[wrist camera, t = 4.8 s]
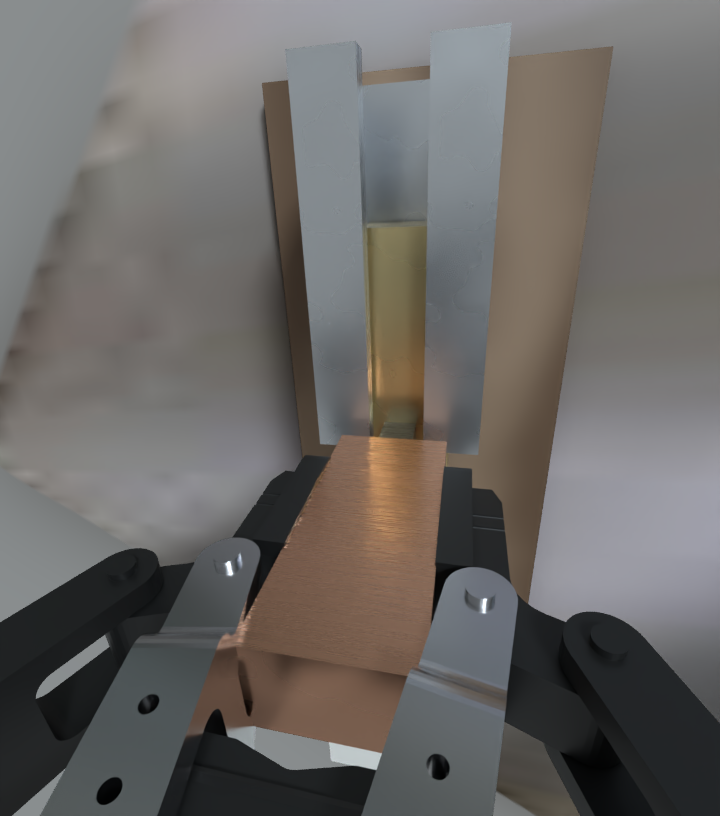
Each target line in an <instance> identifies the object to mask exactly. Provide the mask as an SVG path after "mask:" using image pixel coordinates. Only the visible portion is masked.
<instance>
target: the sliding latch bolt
mask: <svg viewBox="0 0 720 816" xmlns="http://www.w3.org/2000/svg"><path fill="white" fill-rule="evenodd" d="M367 239H368V270H369V301H370V332H371V363H372V394H373V425H374V437H367V436H352V435H342V436H341V438H340V440H339V442H338V443H337V445H336V447H335V449H334V451H333V453H332V455H331V459H330V461H329V463H328V464H327V466H326V468H325V470H324V472H323V474H322V476H321V478H320V480H319V482H318V484H317V486H316V487H315V489H314V491H313V493H312V495H311V497H310V499H309V501H308V503H307V505H306V507H305V509H304V510H303V512H302V514H301V516H300V518H299V520H298V522H297V524H296V526H295V528H294V530H293V532H292V533H291V535H290V537H289V539H288V541H287V543H286V545H285V546H283V548H282V550H281V552H280V554H279V556H278V557H277V559H276V561H275V563H274V565H273V567H272V569H271V571H270V573H269V575H268V576H267V578H266V580H265V582H264V584H263V586H262V588H261V590H260V592H259V594H258V596H257V597H256V599H255V601H254V603H253V605H252V607H251V609H250V611H249V613H248V615H247V616H246V618H245V620H244V622H243V625H242V628H241V631H240V634H239V637H238V641H237V644H236V650H237V654H238V659H239V664H238V676H239V681H240V686H241V690H242V695H243V699H244V703H245V708H246V712H247V715H251V719H252V724H253V726H255V727H260V728H265V729H270V730H275V731H279V732H284V733H288V734H293V735H298V736H302V737H307V738H312V739H317V740H322V741H326V742H331V743H335V744H340V745H345V746H350V747H354V748H359V749H364V750H369V751H373V752H378V753H382V752H383V749H384V746H385V743H386V740H387V737H388V734H389V731H390V728H391V725H392V722H393V719H394V715H395V712H396V709H397V706H398V703H399V700H400V697H401V694H402V691H403V688H404V685H405V682H406V679H407V677H408V674H409V672H410V670H411V668H412V667H413V666H418V664H419V662H420V659H421V656H422V653H423V650H424V647H425V643H426V640H427V637H428V634H429V631H430V628H431V624H432V621H433V618H434V606H435V579H436V565H435V558H436V548H437V537H438V526H439V515H440V504H441V493H442V482H443V472H444V466H446V467H448V459H449V453H446V449H447V442H444V441H428V440H423V420H424V367H425V314H426V260H427V221H402V222H373V223H367Z"/></svg>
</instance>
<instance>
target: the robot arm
mask: <svg viewBox="0 0 720 816" xmlns="http://www.w3.org/2000/svg"><path fill="white" fill-rule="evenodd" d="M330 459H331V457H326V456H314V455H305V456H304V457H303V459H302V460H301V462H300V464H299V465H298V467H297V468H296V470H295V472H292V471H285V472H283V473H282V474H280V475H279V476H277V477H276V478H275V479H273V480H272V481H271V482H270V484H269V485H268V486H267V488H266V489H265V491H264V492H263V495H261V497H260V498H259V500H258V501H257V504H256V505H254V507H253V508H252V510H251V511H250V513H249V514H248V516H247V517H246V518H245V520H244V521H243V523H242V524H241V526H240V527H239V529H238V530H237V532H236V533H235V534H234V536H233V537H232V538H228V539H224V540H220V541H218V542H215V543H213V544H212V545H210V546H208V547H207V548H206V549H204V550H203V551H202V552H201V553H200V554H199V556H198V557H197V559H196V561H195V562H194V563H188V564H180V565H171V566H163V567H160V565H159V561H158V558H157V556H156V554H155V553H154V552H152V551H150V550H147V549H142V548H135V549H129V550H124V551H121V552H118V553H116V554H114V555H112V556H110V557H108V558H106V559H104V560H103V561H101V562H100V563H98V564H96V565H94V566H93V567H91V568H89V569H88V570H86V571H84V572H83V573H81V574H79V575H78V576H76V577H74V578H73V579H71V580H70V581H68V582H66V583H65V584H63V585H61V586H60V587H58V588H56V589H55V590H53V591H51V592H50V593H48V594H46V595H45V596H43V597H41V598H40V599H38V600H37V601H35V602H33V603H31V604H30V605H28V606H27V607H25V608H23V609H22V610H20V611H18V612H17V613H15V614H13V615H12V616H10V617H8V618H7V619H5V620H3V621H2V622H0V816H12V815H13V814H14V813H15V812H17V811H18V810H19V809H20V808H21V807H22V806H23V805H24V804H26V803H27V802H28V801H29V800H30V799H31V798H32V797H33V796H35V794H37V793H38V792H39V791H40V790H41V789H42V788H44V787H45V786H46V785H47V784H48V783H49V782H50V781H51V780H53V779H54V778H55V777H56V776H57V775H58V774H59V773H61V772H62V771H63V770H64V769H65V768H66V769H65V771H64V772H63V774H62V776H61V778H60V780H59V782H58V783H57V786H56V787H55V789H54V791H53V793H52V794H51V796H50V798H49V800H48V802H47V804H46V805H45V807H44V809H43V811H42V813H41V815H40V816H493V810H494V802H495V793H496V786H497V778H498V769H499V761H500V753H501V745H502V736H503V728H504V722H506V723H508V724H510V725H512V726H514V727H516V728H517V729H519V730H521V731H523V732H525V733H527V734H529V735H531V736H532V737H534V738H536V739H538V740H540V741H542V742H544V746H545V748H546V751H547V753H548V755H549V757H550V759H551V761H552V762H553V764H554V766H555V768H556V770H557V772H558V774H559V776H560V778H561V780H562V782H563V783H564V785H565V787H566V789H567V791H568V793H569V795H570V797H571V799H572V801H573V803H574V805H575V806H576V808H577V810H578V812H579V814H580V816H720V723H719V722H718V721H717V720H716V719H715V718H714V716H713V715H712V714H711V713H710V712H709V711H708V710H707V709H706V707H705V706H704V705H703V704H702V703H701V702H700V701H699V699H698V698H697V697H696V696H695V695H694V694H693V693H692V692H691V690H690V689H689V688H688V687H687V686H686V685H685V684H684V682H683V681H682V680H681V679H680V678H679V677H678V676H677V674H676V673H675V672H674V671H673V670H672V669H671V668H670V667H669V665H668V664H667V663H666V662H665V661H664V660H663V659H662V657H661V656H660V655H659V654H658V653H657V652H656V651H655V650H654V648H653V647H652V646H651V645H650V644H649V643H648V642H647V640H646V639H645V638H644V637H643V636H642V635H641V634H640V633H639V632H638V631H637V630H635V629H634V628H633V627H632V626H630V625H629V624H627V623H626V622H624V621H622V620H620V619H618V618H616V617H613V616H611V615H608V614H604V613H599V612H582V613H578V614H575V615H574V616H572V617H571V618H569V619H568V620H567V622H564V621H561V620H559V619H556V618H554V617H551V616H549V615H546V614H544V613H542V612H540V611H538V610H536V609H534V608H533V607H531V606H530V605H529V604H527V603H526V602H525V601H524V600H523V599H522V598H521V597H520V596H519V595H518V594H517V593H516V591H515V589H514V588H513V586H512V583H511V580H510V573H509V563H508V554H507V544H506V535H505V526H504V520H503V519H504V516H503V507H502V502H501V501H500V499H499V498H498V497H497V495H496V494H495V493H494V491H493V490H490V489H479V488H472V469H471V468H458V467H446V466H444V472H443V482H442V493H441V504H440V515H439V526H438V537H437V548H436V558H435V565H436V579H435V606H434V618H433V621H432V624H431V628H430V631H429V634H428V637H427V640H426V643H425V647H424V650H423V653H422V656H421V659H420V662H419V664H418V666H413V667H412V668H411V670H410V672H409V674H408V677H407V679H406V682H405V685H404V688H403V691H402V694H401V697H400V700H399V703H398V706H397V709H396V712H395V715H394V719H393V722H392V725H391V728H390V731H389V734H388V737H387V740H386V743H385V746H384V749H383V752H382V755H381V758H380V761H379V764H378V767H377V770H374V769H369V768H365V767H360V766H344V767H332V768H318V769H306V770H289V769H286V768H284V767H282V766H280V765H279V764H277V763H275V762H274V761H272V760H270V759H269V758H267V757H265V756H264V755H262V754H261V753H259V752H257V751H255V733H256V727H255V726H253V724H252V719H251V715H247V712H246V708H245V703H244V699H243V695H242V690H241V686H240V681H239V676H238V664H239V659H238V654H237V650H236V644H237V641H238V637H239V634H240V631H241V628H242V625H243V622H244V620H245V618H246V616H247V615H248V613H249V611H250V609H251V607H252V605H253V603H254V601H255V599H256V597H257V596H258V594H259V592H260V590H261V588H262V586H263V584H264V582H265V580H266V578H267V576H268V575H269V573H270V571H271V569H272V567H273V565H274V563H275V561H276V559H277V557H278V556H279V554H280V552H281V550H282V548H283V546H285V545H286V543H287V541H288V539H289V537H290V535H291V533H292V532H293V530H294V528H295V526H296V524H297V522H298V520H299V518H300V516H301V514H302V512H303V510H304V509H305V507H306V505H307V503H308V501H309V499H310V497H311V495H312V493H313V491H314V489H315V487H316V486H317V484H318V482H319V480H320V478H321V476H322V474H323V472H324V470H325V468H326V466H327V464H328V463H329V461H330ZM104 635H106V638H107V641H108V643H109V646H110V647H109V648H107V649H106V650H105V651H103V652H102V653H101V654H100V655H98V656H97V657H96V658H94V659H93V660H92V661H90V662H89V663H88V664H86V665H85V666H84V667H82V668H81V669H80V670H78V671H77V672H76V673H74V674H73V675H72V676H71V677H69V678H68V679H66V680H65V681H64V682H62V683H61V684H60V685H58V686H57V687H56V688H54V689H53V690H52V691H50V692H49V693H48V694H46V695H44V696H42V697H40V698H37V699H36V693H37V690H38V688H39V686H40V685H41V684H42V682H43V681H44V680H45V679H46V678H47V677H48V676H49V675H50V674H51V673H53V672H54V671H55V670H57V669H58V668H60V667H61V666H62V665H63V664H65V663H66V662H68V661H69V660H70V659H72V658H73V657H75V656H76V655H77V654H79V653H80V652H82V651H83V650H84V649H85V648H87V647H88V646H90V645H91V644H93V643H94V642H95V641H96V640H98V639H99V638H101V637H102V636H104Z"/></svg>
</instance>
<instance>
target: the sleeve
mask: <svg viewBox="0 0 720 816" xmlns="http://www.w3.org/2000/svg"><path fill="white" fill-rule="evenodd" d="M510 35H511V23H502V24H494V25H486V26H477V27H469V28H461V29H452V30H444V31H436V32H431V46H430V79H425V80H415V81H405V82H395V83H385V84H374V85H364V86H363V83H362V52H361V48H360V46H359V45H358V44H357V42H356V41H352V42H343V43H335V44H327V45H318V46H310V47H302V48H293V49H285V51H286V63H287V74H288V85H289V96H290V108H291V119H292V130H293V142H294V153H295V164H296V176H297V187H298V198H299V210H300V221H301V232H302V244H303V255H304V266H305V278H306V289H307V300H308V312H309V323H310V334H311V346H312V357H313V368H314V380H315V391H316V402H317V414H318V425H319V436H320V444H328V445H337V443H338V442H339V440H340V438H341V436H342V435H352V436H367V437H374V425H373V394H372V363H371V332H370V301H369V270H368V239H367V223H373V222H402V221H427V260H426V314H425V367H424V420H423V440H428V441H444V442H447V449H446V453H456V454H470V455H478V451H479V438H480V425H481V412H482V399H483V386H484V373H485V360H486V347H487V334H488V321H489V308H490V295H491V282H492V269H493V256H494V243H495V230H496V217H497V204H498V191H499V178H500V165H501V152H502V139H503V126H504V113H505V100H506V87H507V74H508V61H509V48H510Z"/></svg>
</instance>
